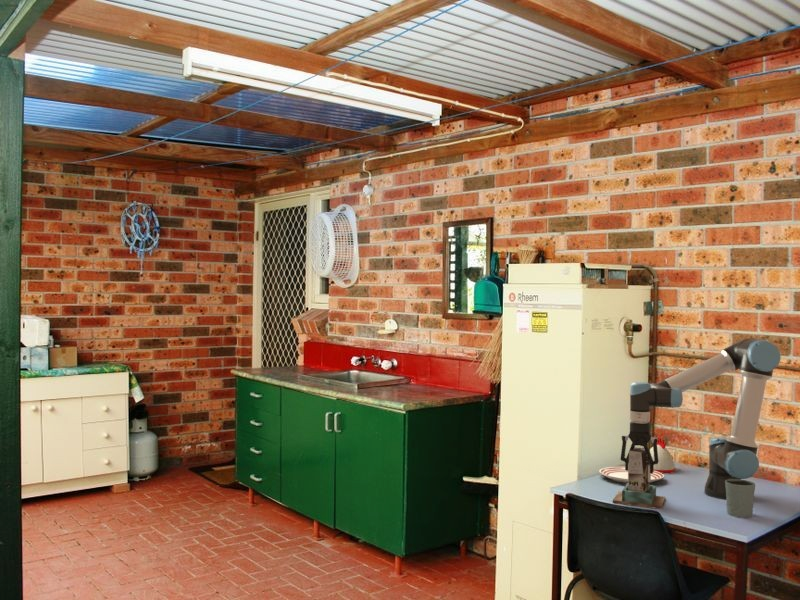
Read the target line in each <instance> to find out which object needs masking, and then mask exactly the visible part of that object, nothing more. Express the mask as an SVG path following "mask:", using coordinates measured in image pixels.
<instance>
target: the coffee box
mask: <svg viewBox="0 0 800 600" xmlns="http://www.w3.org/2000/svg"><path fill="white" fill-rule="evenodd" d="M650 449H651V448H649V450H650ZM628 453H629V480H628V491H635V492H644V493H645V492H647V491H648V490H649V489H650V484H651V483H650V482H648V464H650V463H649V460H648V457H647V451H645V449H644V447H636V446H635V447H634V449H633V450H630V449H629V451H628Z"/></svg>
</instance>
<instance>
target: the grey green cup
mask: <svg viewBox="0 0 800 600" xmlns="http://www.w3.org/2000/svg"><path fill="white" fill-rule="evenodd" d="M725 486H726V499H725V500H726V502H725V503H726V513H727V515H729V516H730V517H735V518H742V519H749V518H752V517H753V513H754V510H753V508H754V503H755V502H754V500H755V499H754V498H755V490H756V482H754V481H750V480H747V479H741V480H739V479H728V480H725Z"/></svg>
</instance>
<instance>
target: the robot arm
mask: <svg viewBox="0 0 800 600" xmlns="http://www.w3.org/2000/svg"><path fill="white" fill-rule="evenodd" d="M781 357H782V356H781V353H780V350H779V348H778V347H777V346H776V344H774V343H773V342H771V341H768V340H765V339H755V338H745V339H742V340H739V341H737V342H735V343H734V344H731V345H729V346H727V347H726V348H724V349H721V351H720V353H719V354H716V355H715V356H712V357H711V358H707V359H706V360H704V361H701V362H699V363H698V364H696V365H693V366H691V367H689V368H687V369H685V370H683V371H681V372H679V373H677V374H674V375H672V376H669V377H668V378H665V379H664V380H661V381H659V382H657V383H655V382H654V383H649V382H643V381H635V382H634V381H633V382H632V383H631V384H630V390H629V391H630V393H629V396H630V397H629V403H630V404H629V406H630V407H629V408H630V410H629V420H630V422H629V434H624V435H622V436H621V441H622V443H621V444H622V445H621V453H620V461H622V462H624V465H625V466H624V467H625V470H626V471H628V480H629V452H628V453H627V456H626V449H627V442H628V440H630V441H631V445H630V448H629V450H633V449H634V447H635V448H636V446H638V447H639V446H640V447H642V448H644V449H645V451H647V457H648V460H649V463H650V464H648V482H650V481H651V473H653V472H654V465H655V464H658V462H659V460H658V450H657V442H658V438H659V437H653V436H652V435H651V423H650V421H651V408H671V409H674V408H681V407H682V405H683V399H684V398H683V393H684V392H686V391H688V390H691V389H692V388H695V387H697V386H699V385H701V384H703V383H705V382H707V381H710V380H712V379H714V378H716V377H719V376H721V375H723V374H725V373H727V372H731V371H732V372H735V371H738V370H739V373H740V374H741V376H742V377H741V381H740V382H741V383H740V388H739V392H738V397H737V403H736V406H735V407H736V408H735V413H734V416H733V417H734V418H733V422H732V427H731V432H730V436H728V437H712V438H710V440H709V444H708V448H709V449H708V450H709V451H708V453H709V455H708V456H709V457H708V459H709V461H708V462H709V463H708V464H709V467H708V469H709V472H708V473H709V474H708V476H707V479H706V482H705V484H704V494H705V495H708V496H710V497H712V498H713V497H714V498H718V499H725V500H726V486H725V480H728V479H739V480H747V479H750V478H752V477H753V476H754V475H756V474H757V473H758V471H759V468H760V460H759V458H758V456H757V452H758V448H759V446H758V444H757V443H756V441H755V440H756V435H757V429H758V426H759V425H758V424H759V420H760V416H761V410H762V406H763V405H762V404H763V400H764V395H765V389H766V386H767V381H768V380H770V379H772V377H773V373H774V370H775V369H776V368H777V367H778V366H779V365H780V362H781ZM650 441H651V443H652V447H653V450H654V460H655V461H653V459H652V456H651V453H650V450H649V449H650V447H649V444H648V443H649V442H650Z"/></svg>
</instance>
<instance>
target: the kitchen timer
mask: <svg viewBox="0 0 800 600" xmlns="http://www.w3.org/2000/svg"><path fill="white" fill-rule="evenodd" d="M657 438H658V442H657V450H658V460H659V462H658V464H655V465H654V471H657V472H660V473H669V474H672V473H671V472H674V471H675V472H676V470H675V468H676V467H675V463H674V456H673V454H671V452H670V451H669V450H668V449H667V448H666V445H667V442H665V439H662V438H659V437H657ZM649 449H650V453H651V456H652V459H653V461H655V460H654V450H653V446H652V447H650V448H649ZM675 472H674V473H675Z"/></svg>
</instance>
